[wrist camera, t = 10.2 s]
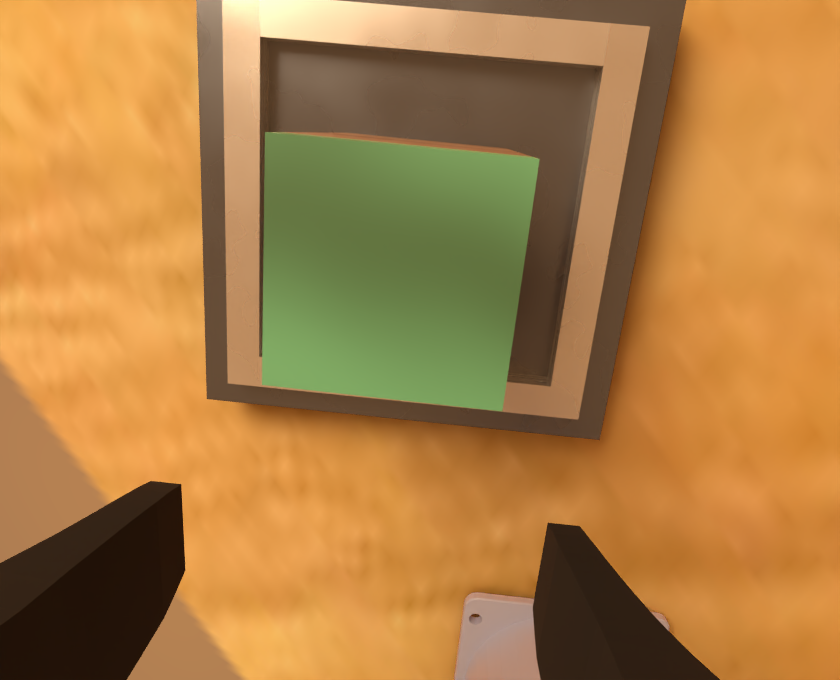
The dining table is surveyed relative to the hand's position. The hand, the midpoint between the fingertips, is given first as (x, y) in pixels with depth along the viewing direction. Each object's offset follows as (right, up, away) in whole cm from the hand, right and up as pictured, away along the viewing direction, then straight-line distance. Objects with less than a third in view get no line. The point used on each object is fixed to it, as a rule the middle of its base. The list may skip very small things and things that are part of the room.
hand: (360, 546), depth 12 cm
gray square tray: (+1, +8, +8) cm, 12 cm away
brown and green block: (+1, +8, +6) cm, 10 cm away
